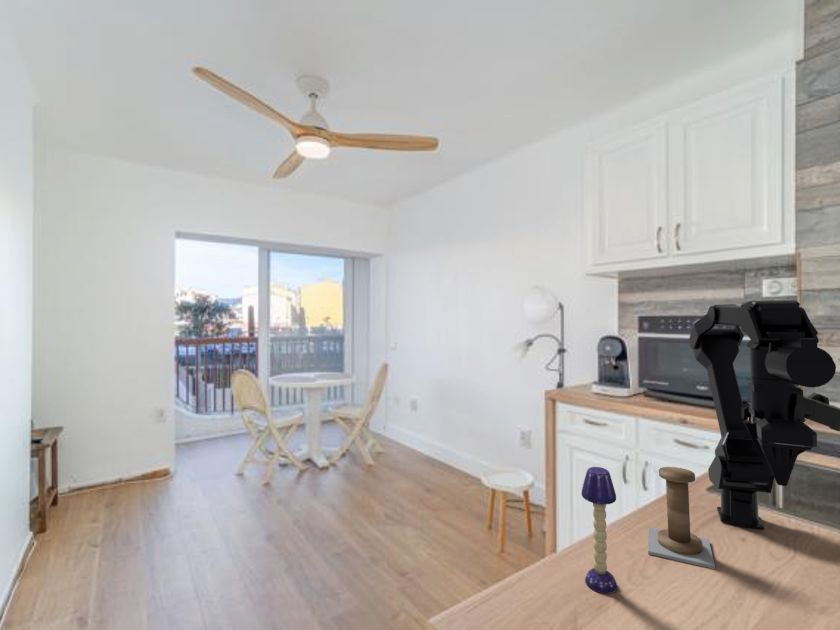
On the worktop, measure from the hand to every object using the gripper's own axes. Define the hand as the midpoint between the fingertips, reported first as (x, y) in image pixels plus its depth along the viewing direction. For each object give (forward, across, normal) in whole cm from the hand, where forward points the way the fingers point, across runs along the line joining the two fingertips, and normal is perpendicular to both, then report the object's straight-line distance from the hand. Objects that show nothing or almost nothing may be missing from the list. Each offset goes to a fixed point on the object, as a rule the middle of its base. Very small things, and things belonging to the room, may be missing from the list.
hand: (774, 475), depth 69 cm
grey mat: (+13, -4, +14) cm, 19 cm away
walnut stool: (+12, -4, +13) cm, 19 cm away
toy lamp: (+13, -21, +24) cm, 34 cm away
